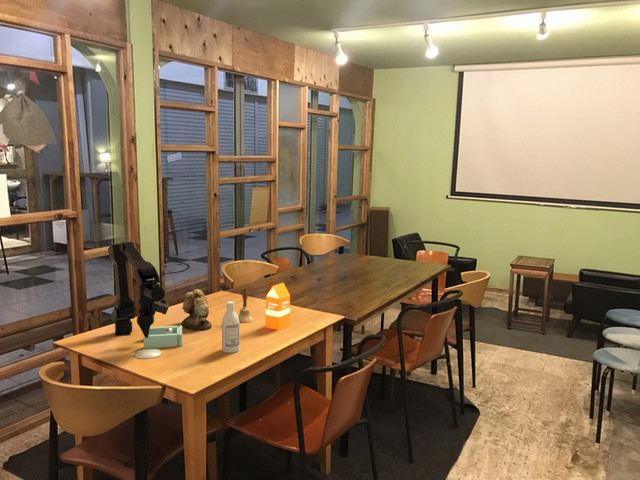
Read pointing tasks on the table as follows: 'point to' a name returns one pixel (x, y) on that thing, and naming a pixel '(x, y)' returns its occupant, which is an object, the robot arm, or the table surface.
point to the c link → (163, 337)
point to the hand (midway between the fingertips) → (147, 333)
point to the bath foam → (230, 330)
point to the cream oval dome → (147, 353)
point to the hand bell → (245, 309)
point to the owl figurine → (196, 311)
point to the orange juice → (278, 307)
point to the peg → (168, 330)
